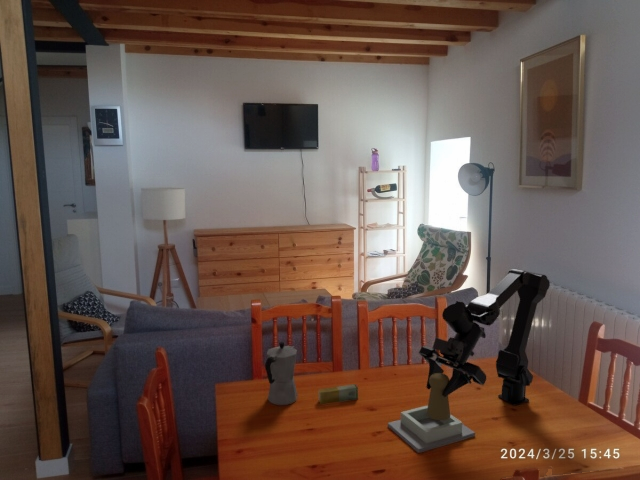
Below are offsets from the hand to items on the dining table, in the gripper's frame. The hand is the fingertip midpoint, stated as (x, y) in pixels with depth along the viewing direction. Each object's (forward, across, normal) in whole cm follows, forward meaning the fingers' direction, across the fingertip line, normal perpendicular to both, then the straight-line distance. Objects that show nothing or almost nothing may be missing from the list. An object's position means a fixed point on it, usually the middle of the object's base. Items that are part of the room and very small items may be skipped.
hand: (435, 392), depth 127 cm
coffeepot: (+24, -41, -7) cm, 48 cm away
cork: (+4, 0, +6) cm, 7 cm away
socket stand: (+8, -2, +9) cm, 12 cm away
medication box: (+14, -31, +3) cm, 34 cm away
